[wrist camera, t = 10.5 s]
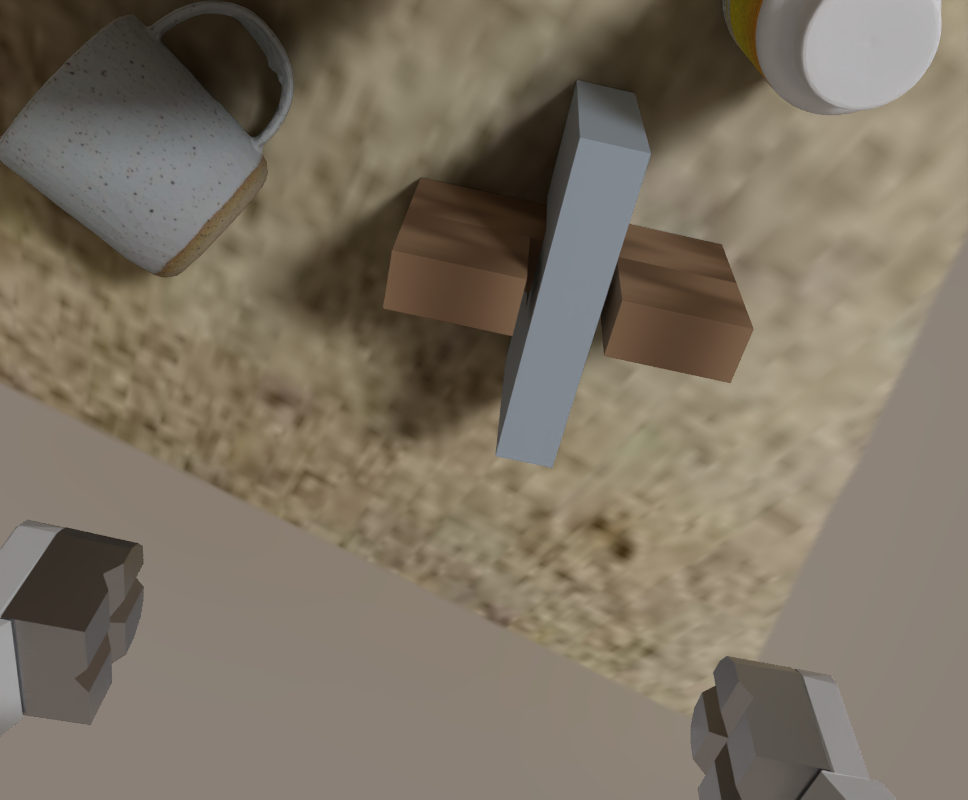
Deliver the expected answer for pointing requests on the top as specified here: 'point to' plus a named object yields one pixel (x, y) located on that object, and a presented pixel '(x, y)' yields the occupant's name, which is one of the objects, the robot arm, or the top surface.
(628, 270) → the walnut board
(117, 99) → the ceramic mug
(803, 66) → the supplement bottle
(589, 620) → the top surface
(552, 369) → the slate board
